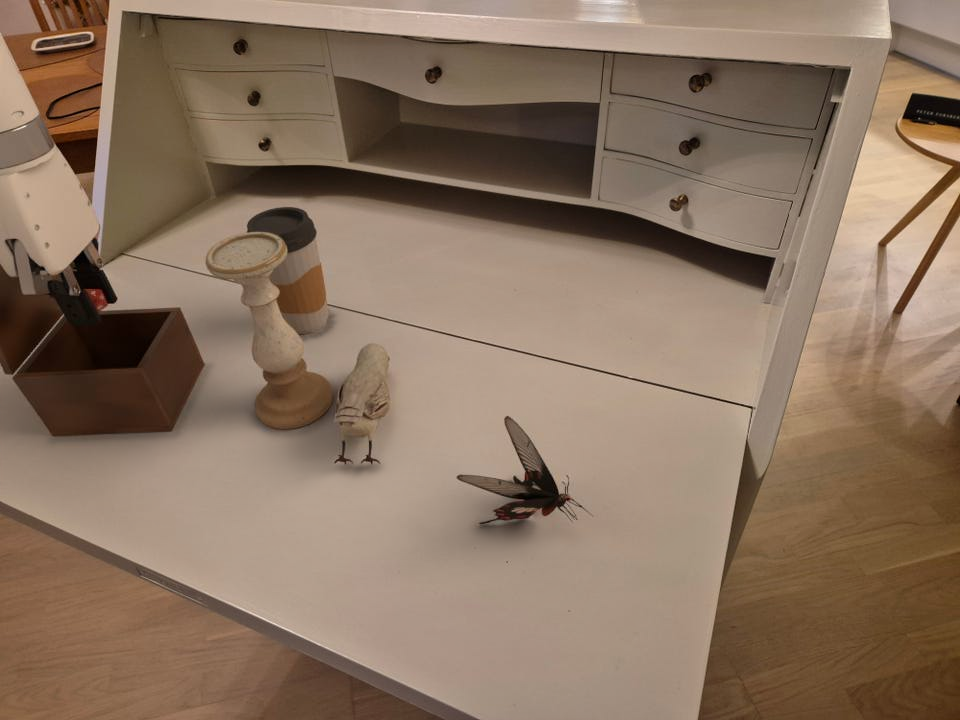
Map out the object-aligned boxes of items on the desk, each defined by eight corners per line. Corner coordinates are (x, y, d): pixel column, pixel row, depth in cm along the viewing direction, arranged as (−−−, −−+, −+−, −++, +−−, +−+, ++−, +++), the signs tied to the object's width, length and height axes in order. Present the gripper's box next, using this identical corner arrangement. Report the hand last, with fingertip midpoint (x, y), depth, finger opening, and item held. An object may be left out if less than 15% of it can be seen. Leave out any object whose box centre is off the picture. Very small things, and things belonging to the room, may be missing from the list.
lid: (27, 196, 65) (18, 195, 65) (-43, 254, 56) (-53, 253, 56) (67, 309, 74) (60, 308, 74) (13, 375, 66) (4, 374, 65)
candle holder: (320, 432, 70) (272, 276, 57) (244, 428, 71) (180, 274, 58) (342, 378, 76) (304, 228, 63) (273, 376, 78) (221, 227, 64)
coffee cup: (304, 297, 90) (277, 199, 81) (349, 313, 87) (327, 213, 77) (261, 329, 85) (227, 228, 75) (307, 347, 82) (277, 244, 72)
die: (81, 324, 66) (68, 301, 64) (80, 310, 68) (67, 287, 66) (111, 316, 67) (99, 292, 65) (109, 302, 69) (97, 278, 67)
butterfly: (494, 548, 62) (430, 472, 61) (551, 488, 65) (492, 414, 63) (543, 576, 52) (469, 487, 50) (609, 505, 55) (541, 417, 53)
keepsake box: (204, 364, 80) (180, 307, 74) (171, 431, 71) (140, 372, 65) (98, 368, 80) (65, 312, 75) (52, 436, 71) (11, 378, 66)
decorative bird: (403, 370, 77) (394, 321, 72) (382, 474, 65) (371, 422, 60) (359, 371, 77) (348, 321, 73) (331, 474, 65) (315, 423, 60)
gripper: (12, 113, 62) (95, 273, 74) (-103, 186, 50) (19, 364, 61) (88, 109, 62) (159, 270, 74) (-10, 181, 49) (95, 361, 61)
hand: (94, 311), depth 68 cm, fingers closed on die, 3 cm apart
